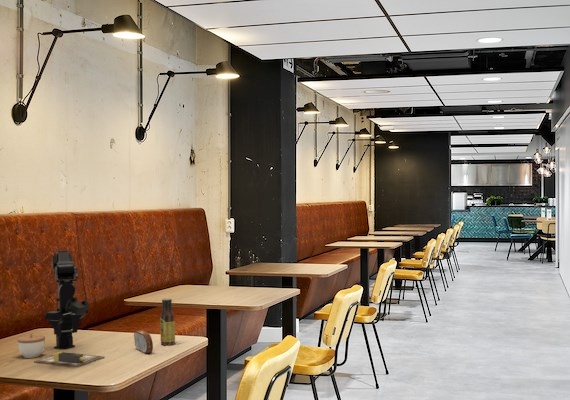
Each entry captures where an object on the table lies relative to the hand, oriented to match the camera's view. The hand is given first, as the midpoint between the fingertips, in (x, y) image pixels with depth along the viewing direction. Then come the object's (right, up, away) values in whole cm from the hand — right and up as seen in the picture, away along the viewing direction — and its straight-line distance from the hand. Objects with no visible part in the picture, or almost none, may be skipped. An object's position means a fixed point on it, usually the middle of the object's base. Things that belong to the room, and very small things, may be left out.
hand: (67, 334), depth 292 cm
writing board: (-1, -11, +5) cm, 12 cm away
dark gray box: (0, -11, 0) cm, 11 cm away
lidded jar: (-19, -12, +14) cm, 26 cm away
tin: (+26, -11, +18) cm, 33 cm away
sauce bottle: (+35, -10, +30) cm, 47 cm away
